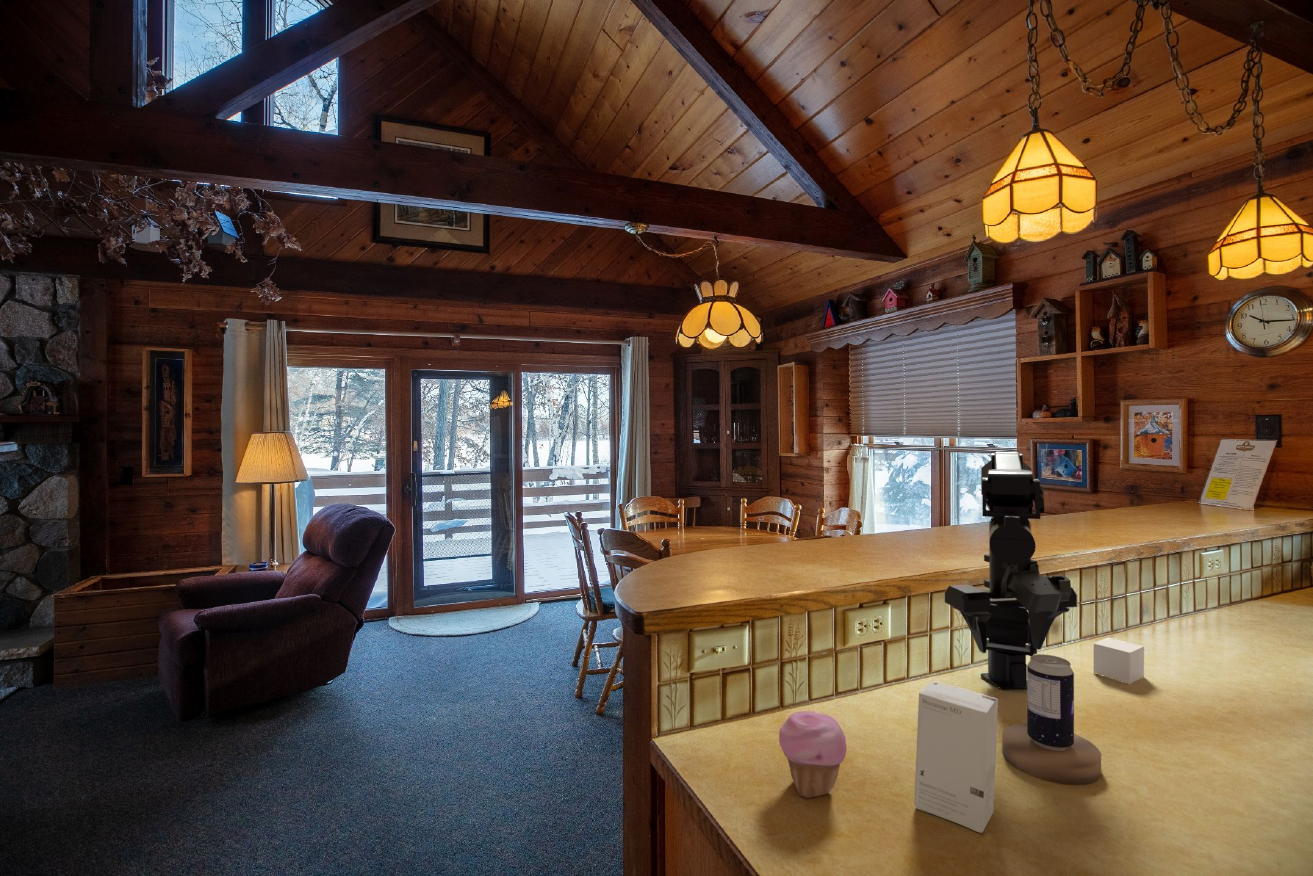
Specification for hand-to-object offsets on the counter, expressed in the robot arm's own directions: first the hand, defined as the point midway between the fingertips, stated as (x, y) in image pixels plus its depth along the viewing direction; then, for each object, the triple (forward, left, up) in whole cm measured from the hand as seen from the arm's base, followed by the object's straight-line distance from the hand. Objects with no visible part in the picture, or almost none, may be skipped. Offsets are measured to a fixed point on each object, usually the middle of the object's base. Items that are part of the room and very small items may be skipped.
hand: (1010, 650), depth 98 cm
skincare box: (+18, -20, -13) cm, 30 cm away
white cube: (-17, +35, -13) cm, 41 cm away
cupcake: (+11, -36, -13) cm, 40 cm away
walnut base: (+9, 0, -13) cm, 15 cm away
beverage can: (+9, 0, -11) cm, 14 cm away
